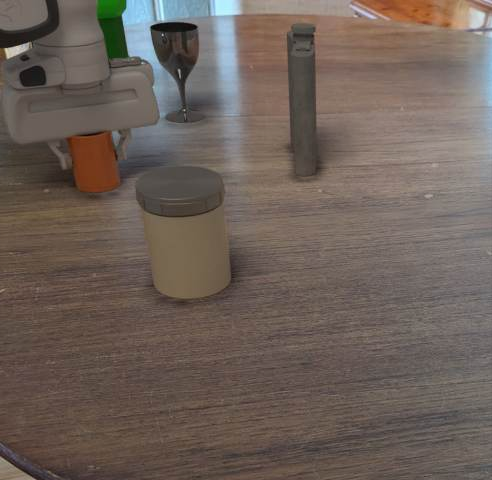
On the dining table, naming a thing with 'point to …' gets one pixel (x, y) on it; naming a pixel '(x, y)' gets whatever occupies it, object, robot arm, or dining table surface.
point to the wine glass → (178, 60)
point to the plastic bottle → (113, 27)
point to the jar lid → (180, 190)
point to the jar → (188, 253)
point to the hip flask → (302, 97)
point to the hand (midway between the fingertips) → (94, 163)
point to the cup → (94, 162)
